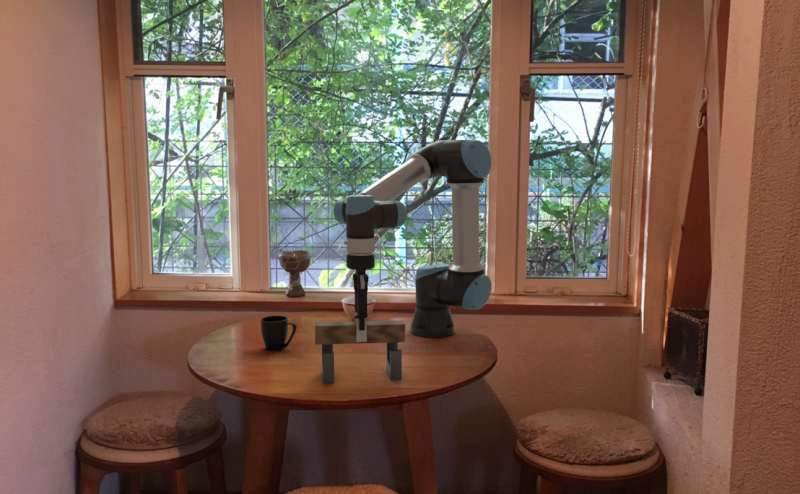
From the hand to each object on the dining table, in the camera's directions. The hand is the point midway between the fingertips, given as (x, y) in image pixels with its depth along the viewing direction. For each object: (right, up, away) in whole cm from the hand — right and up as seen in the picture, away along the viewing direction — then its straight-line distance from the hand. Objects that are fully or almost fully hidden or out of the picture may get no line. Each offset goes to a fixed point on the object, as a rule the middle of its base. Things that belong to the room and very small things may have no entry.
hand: (360, 338), depth 169 cm
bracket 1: (-9, -11, 0) cm, 14 cm away
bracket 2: (+9, -10, +3) cm, 14 cm away
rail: (0, -1, 0) cm, 1 cm away
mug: (-27, -7, +26) cm, 38 cm away
